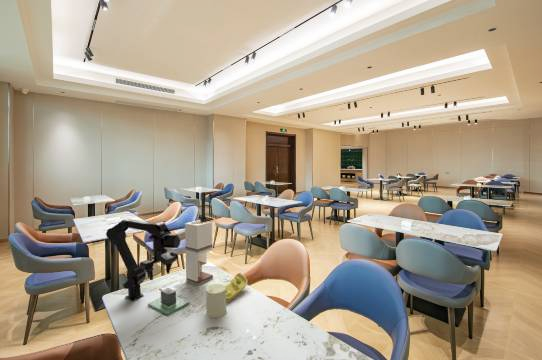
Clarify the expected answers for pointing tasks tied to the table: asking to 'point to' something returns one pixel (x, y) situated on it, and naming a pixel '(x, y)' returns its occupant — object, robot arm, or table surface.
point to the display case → (197, 250)
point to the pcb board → (168, 309)
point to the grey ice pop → (168, 296)
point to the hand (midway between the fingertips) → (160, 276)
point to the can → (216, 300)
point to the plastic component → (235, 286)
